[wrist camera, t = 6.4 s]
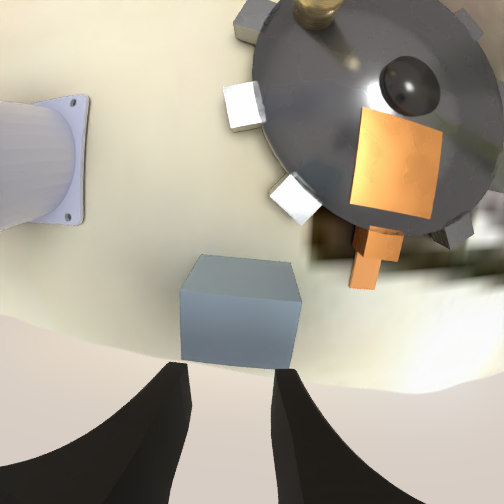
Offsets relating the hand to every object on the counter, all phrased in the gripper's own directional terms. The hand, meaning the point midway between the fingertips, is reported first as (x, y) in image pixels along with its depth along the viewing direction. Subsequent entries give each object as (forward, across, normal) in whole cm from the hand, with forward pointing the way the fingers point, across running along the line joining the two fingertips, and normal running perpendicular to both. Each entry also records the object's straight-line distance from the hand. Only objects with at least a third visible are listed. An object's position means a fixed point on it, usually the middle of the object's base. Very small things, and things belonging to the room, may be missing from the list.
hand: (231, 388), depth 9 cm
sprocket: (+8, -8, -12) cm, 16 cm away
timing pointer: (+8, -7, -1) cm, 11 cm away
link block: (+8, 0, 0) cm, 8 cm away
